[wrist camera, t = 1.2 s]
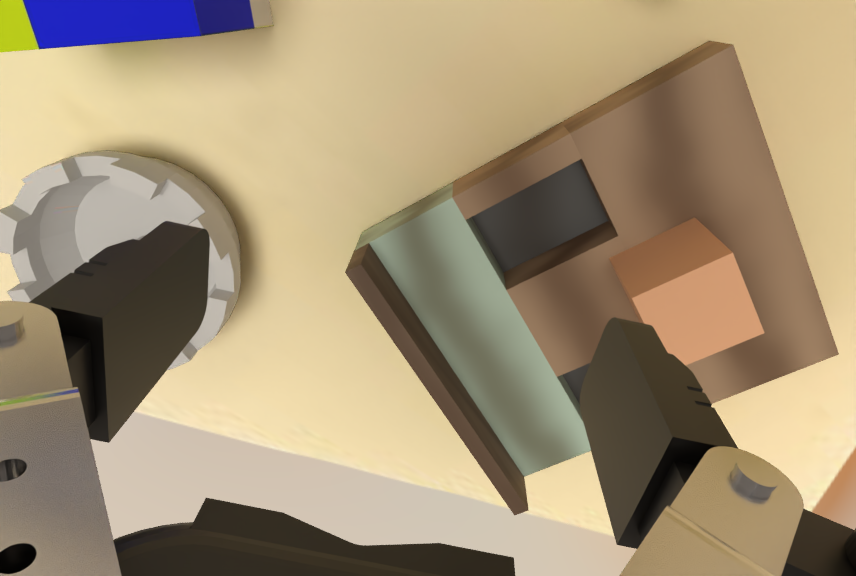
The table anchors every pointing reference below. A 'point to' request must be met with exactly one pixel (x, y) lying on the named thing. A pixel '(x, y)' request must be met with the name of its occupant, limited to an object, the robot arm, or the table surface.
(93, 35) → the puzzle toy
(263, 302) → the table surface
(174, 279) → the robot arm
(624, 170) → the track
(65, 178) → the flag stand
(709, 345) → the block
